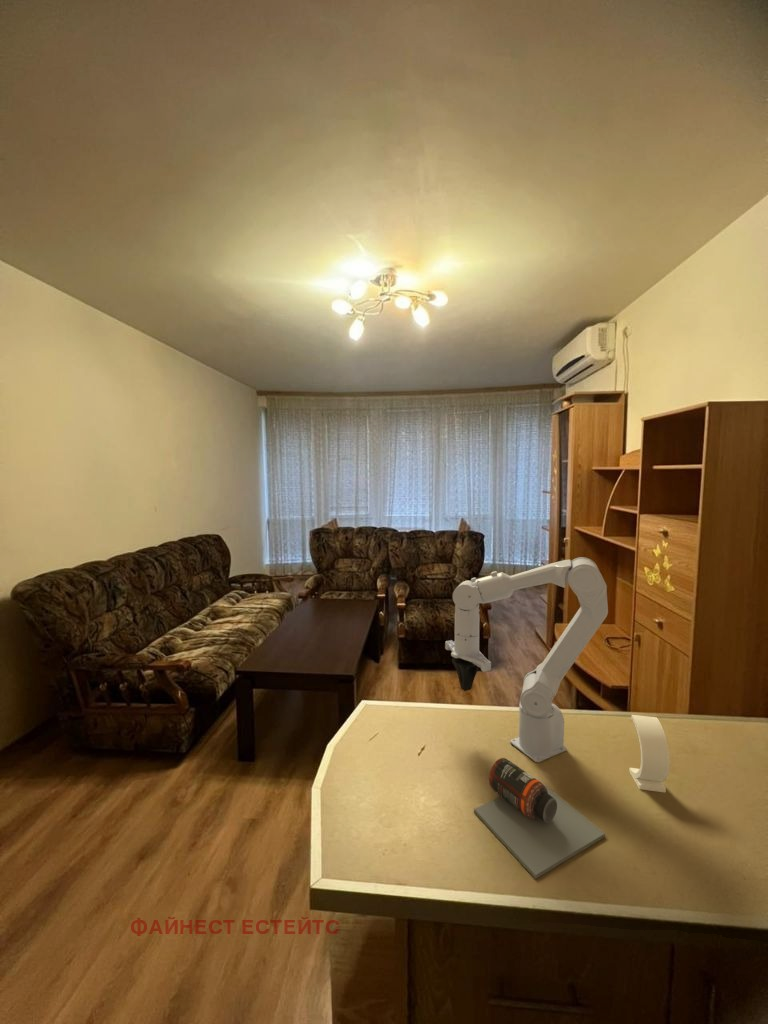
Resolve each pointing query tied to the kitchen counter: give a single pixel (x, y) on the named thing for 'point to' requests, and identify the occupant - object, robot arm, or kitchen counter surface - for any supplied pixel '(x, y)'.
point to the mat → (539, 833)
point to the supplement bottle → (522, 790)
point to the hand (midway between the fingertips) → (466, 688)
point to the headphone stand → (651, 754)
